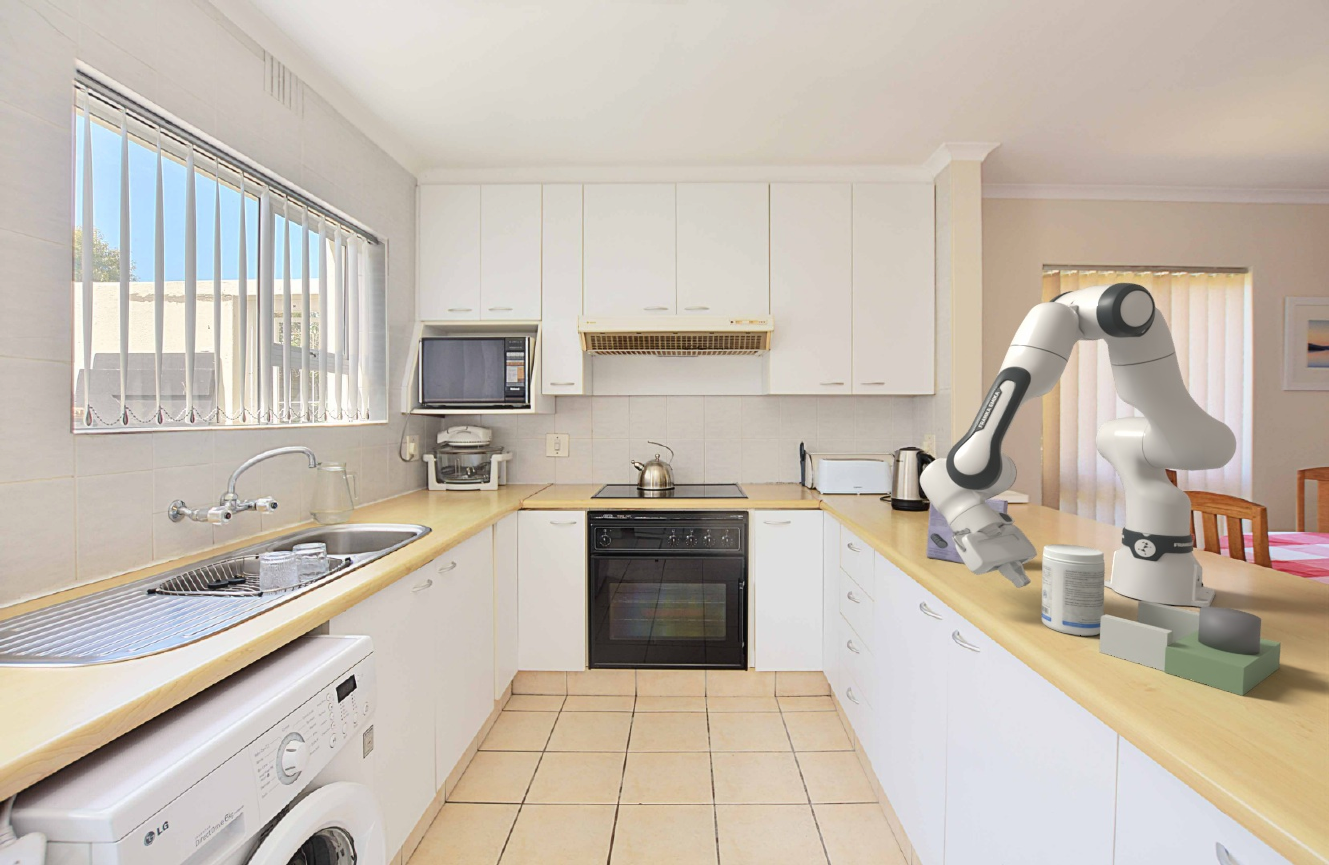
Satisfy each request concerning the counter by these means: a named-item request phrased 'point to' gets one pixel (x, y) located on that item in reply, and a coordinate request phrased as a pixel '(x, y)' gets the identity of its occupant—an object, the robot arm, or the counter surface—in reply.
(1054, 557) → the supplement tub
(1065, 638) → the counter surface
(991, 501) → the cake pan box
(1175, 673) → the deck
